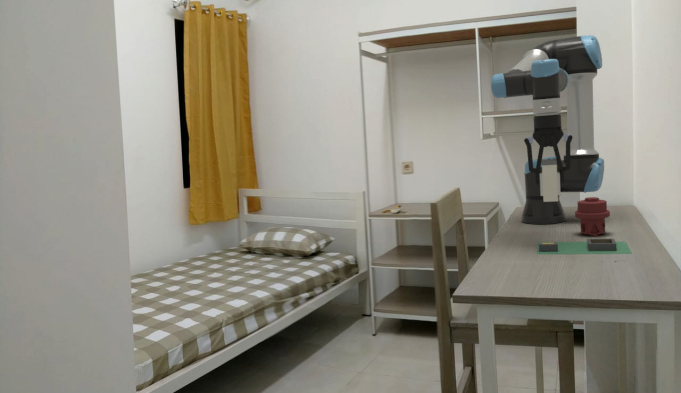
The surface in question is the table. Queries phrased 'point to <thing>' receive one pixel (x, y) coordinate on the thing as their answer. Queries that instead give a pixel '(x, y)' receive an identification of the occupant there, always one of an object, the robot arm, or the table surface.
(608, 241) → the board
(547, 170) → the plug
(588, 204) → the mechanical component
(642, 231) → the table surface
